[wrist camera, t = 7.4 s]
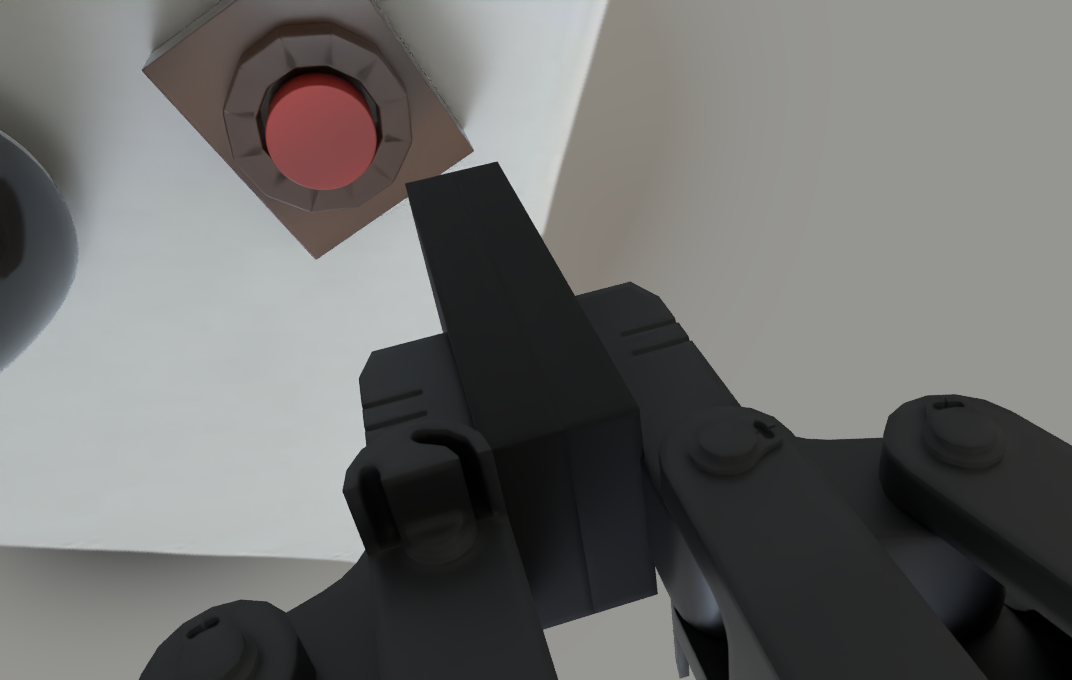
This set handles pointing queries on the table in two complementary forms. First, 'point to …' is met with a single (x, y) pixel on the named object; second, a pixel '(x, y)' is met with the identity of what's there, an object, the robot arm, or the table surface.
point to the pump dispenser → (31, 249)
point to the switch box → (284, 53)
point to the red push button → (320, 131)
